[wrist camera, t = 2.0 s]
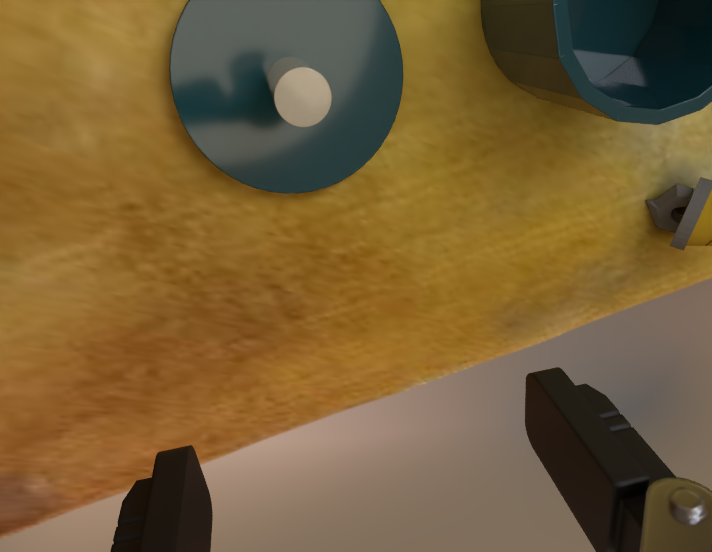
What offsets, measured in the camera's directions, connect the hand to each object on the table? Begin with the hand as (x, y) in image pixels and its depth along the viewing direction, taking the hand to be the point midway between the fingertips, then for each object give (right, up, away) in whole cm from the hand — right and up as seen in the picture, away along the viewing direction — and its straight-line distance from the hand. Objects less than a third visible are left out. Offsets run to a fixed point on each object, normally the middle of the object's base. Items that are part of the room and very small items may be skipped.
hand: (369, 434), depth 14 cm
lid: (-4, +16, +22) cm, 27 cm away
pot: (+14, +22, +23) cm, 35 cm away
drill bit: (+25, +10, +31) cm, 41 cm away
